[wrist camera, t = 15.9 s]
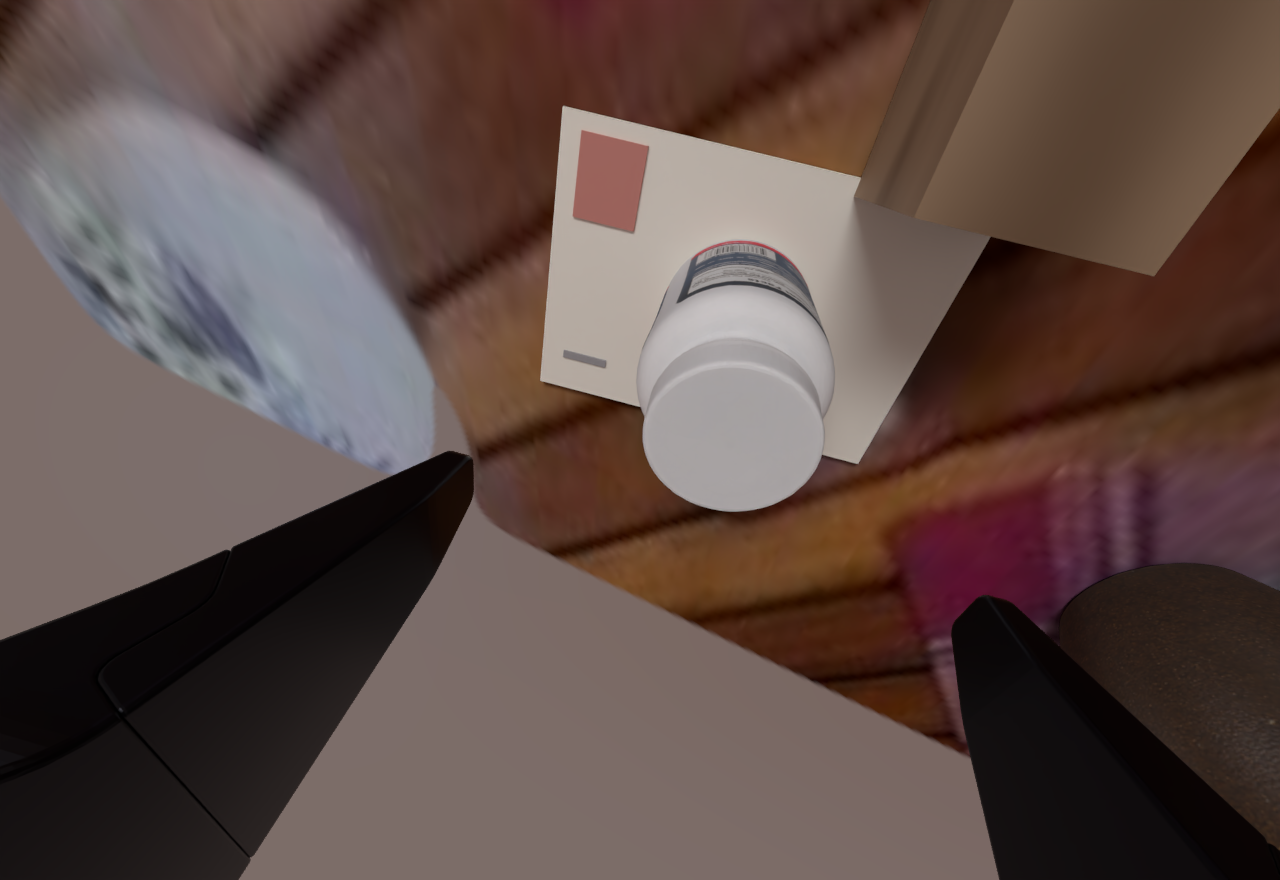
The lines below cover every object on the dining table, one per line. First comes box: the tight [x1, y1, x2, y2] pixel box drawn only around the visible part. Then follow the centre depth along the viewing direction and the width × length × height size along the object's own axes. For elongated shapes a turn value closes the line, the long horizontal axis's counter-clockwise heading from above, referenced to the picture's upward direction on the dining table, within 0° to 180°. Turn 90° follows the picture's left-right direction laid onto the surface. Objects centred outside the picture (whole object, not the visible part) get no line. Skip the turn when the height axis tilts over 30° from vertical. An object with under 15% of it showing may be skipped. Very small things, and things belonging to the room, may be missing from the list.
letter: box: [540, 106, 990, 464], centre depth 18 cm, size 14×10×1 cm
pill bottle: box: [636, 239, 835, 512], centre depth 14 cm, size 5×5×9 cm
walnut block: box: [854, 0, 1280, 276], centre depth 11 cm, size 5×5×6 cm
